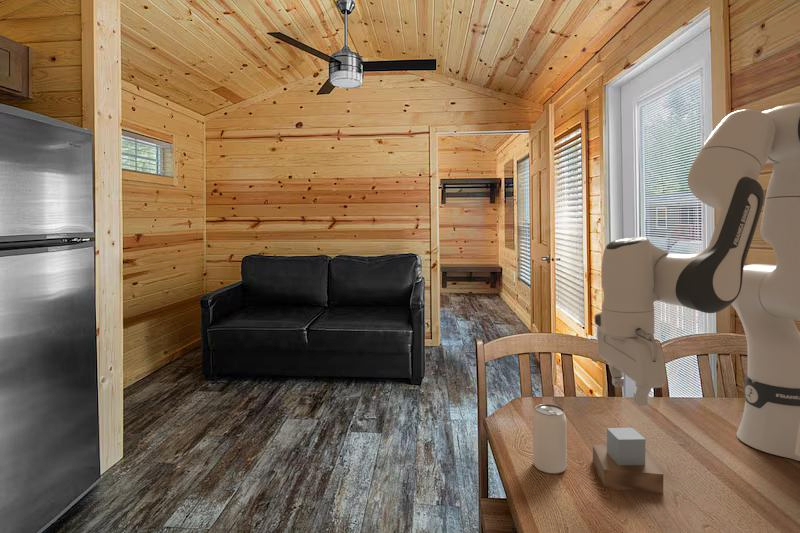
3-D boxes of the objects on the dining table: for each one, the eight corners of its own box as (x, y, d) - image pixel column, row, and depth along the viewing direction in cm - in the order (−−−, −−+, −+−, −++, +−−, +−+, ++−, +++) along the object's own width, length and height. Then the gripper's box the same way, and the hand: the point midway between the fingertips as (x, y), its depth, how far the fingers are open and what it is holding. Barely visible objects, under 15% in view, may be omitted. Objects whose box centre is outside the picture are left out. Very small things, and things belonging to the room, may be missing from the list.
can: (556, 456, 95) (556, 401, 94) (573, 472, 89) (573, 414, 88) (527, 460, 94) (527, 404, 93) (542, 476, 88) (542, 417, 87)
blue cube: (632, 452, 89) (632, 427, 89) (645, 465, 84) (645, 439, 84) (606, 452, 89) (606, 428, 89) (618, 465, 84) (618, 439, 84)
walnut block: (645, 467, 91) (645, 448, 91) (663, 495, 81) (663, 474, 81) (592, 463, 93) (592, 444, 93) (603, 490, 83) (603, 469, 83)
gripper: (675, 335, 74) (676, 416, 76) (621, 312, 95) (622, 376, 96) (636, 337, 75) (637, 417, 76) (590, 314, 95) (592, 377, 96)
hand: (628, 394), depth 86 cm, fingers open, 8 cm apart
